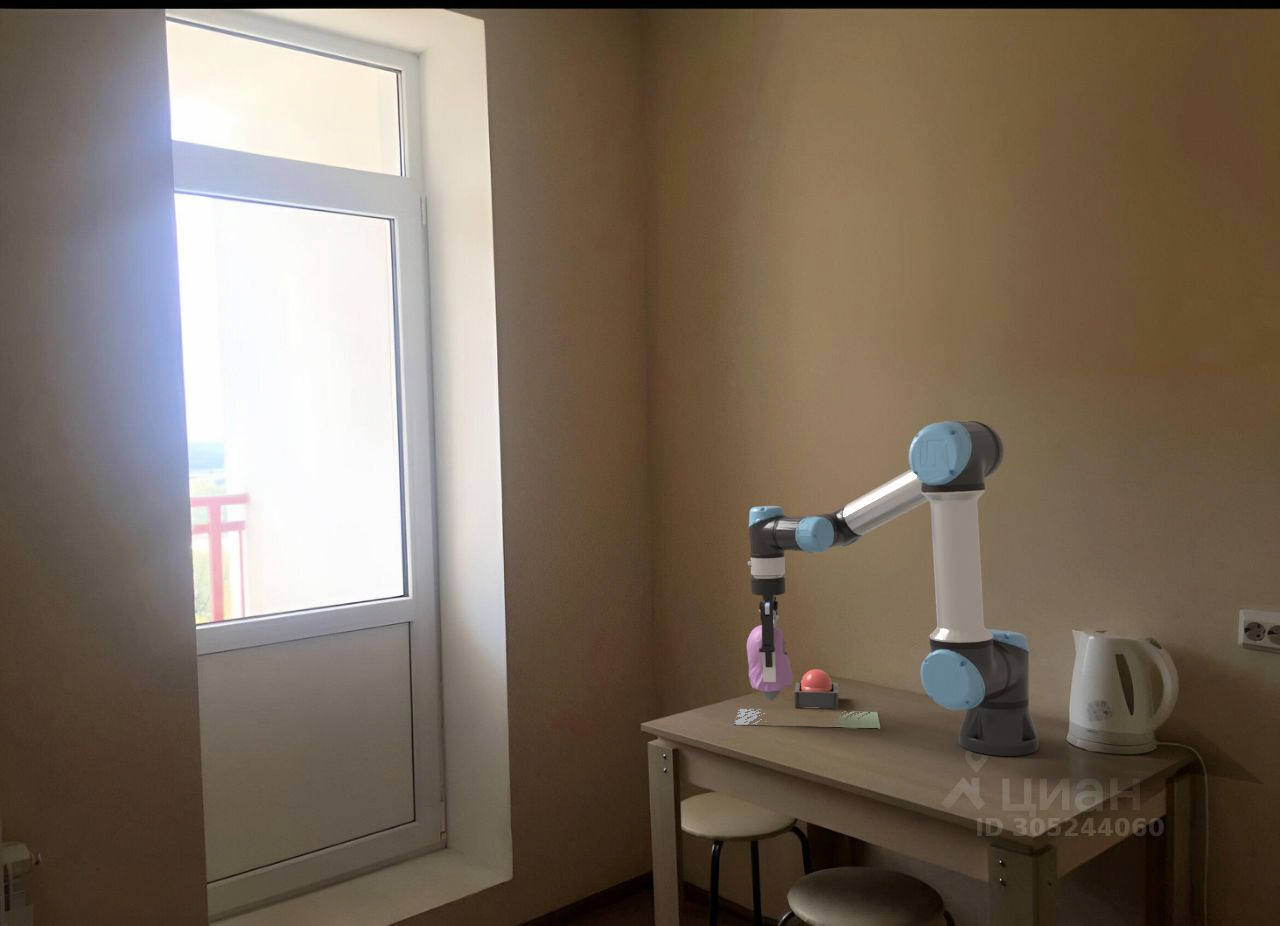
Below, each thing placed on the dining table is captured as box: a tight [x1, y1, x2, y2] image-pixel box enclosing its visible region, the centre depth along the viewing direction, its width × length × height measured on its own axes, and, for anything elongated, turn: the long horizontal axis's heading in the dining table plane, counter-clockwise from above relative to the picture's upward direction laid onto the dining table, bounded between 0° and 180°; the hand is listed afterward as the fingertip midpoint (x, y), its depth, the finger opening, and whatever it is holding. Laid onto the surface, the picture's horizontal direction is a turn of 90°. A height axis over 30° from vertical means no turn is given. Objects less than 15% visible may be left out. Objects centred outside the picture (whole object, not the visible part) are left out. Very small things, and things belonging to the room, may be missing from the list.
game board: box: [733, 708, 881, 730], centre depth 233 cm, size 13×31×1 cm, turn 80°
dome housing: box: [794, 681, 839, 709], centre depth 246 cm, size 10×10×4 cm
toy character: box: [746, 609, 795, 701], centre depth 234 cm, size 12×10×20 cm
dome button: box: [800, 668, 833, 692], centre depth 246 cm, size 7×7×7 cm
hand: (770, 676), depth 234 cm, fingers closed on toy character, 10 cm apart
